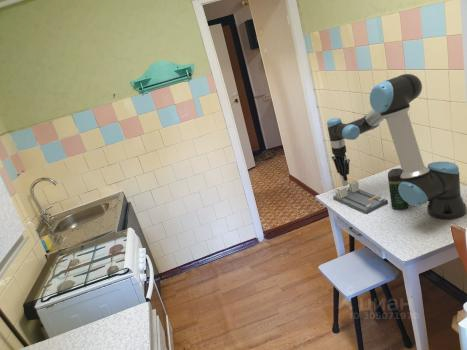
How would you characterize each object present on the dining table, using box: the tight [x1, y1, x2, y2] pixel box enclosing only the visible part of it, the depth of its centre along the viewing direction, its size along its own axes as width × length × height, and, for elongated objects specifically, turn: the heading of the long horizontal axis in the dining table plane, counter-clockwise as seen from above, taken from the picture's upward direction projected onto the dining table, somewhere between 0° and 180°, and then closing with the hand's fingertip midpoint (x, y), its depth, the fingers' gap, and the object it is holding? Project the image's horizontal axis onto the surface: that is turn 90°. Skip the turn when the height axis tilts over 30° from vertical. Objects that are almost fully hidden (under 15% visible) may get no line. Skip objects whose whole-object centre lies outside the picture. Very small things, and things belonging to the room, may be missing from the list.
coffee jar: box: [387, 167, 410, 211], centre depth 181 cm, size 10×8×19 cm
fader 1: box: [336, 185, 348, 198], centre depth 203 cm, size 3×4×5 cm
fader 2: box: [348, 179, 361, 193], centre depth 205 cm, size 3×4×5 cm
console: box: [332, 187, 389, 215], centre depth 198 cm, size 26×14×3 cm, turn 22°
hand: (345, 185), depth 212 cm, fingers closed
